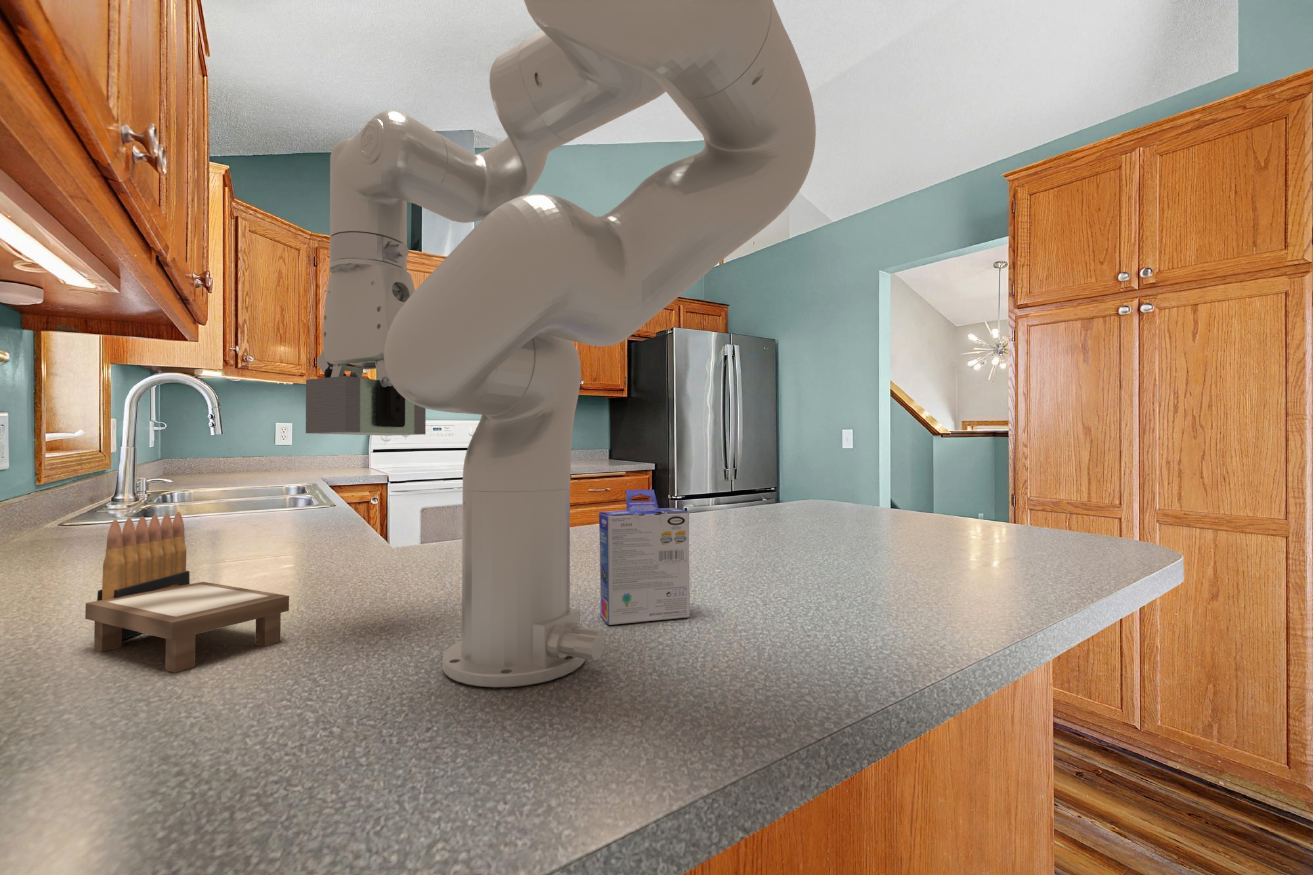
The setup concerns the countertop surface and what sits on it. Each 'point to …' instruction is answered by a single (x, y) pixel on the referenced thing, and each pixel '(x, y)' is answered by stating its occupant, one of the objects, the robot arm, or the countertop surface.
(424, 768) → the countertop surface
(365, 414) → the block
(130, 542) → the ammunition clip
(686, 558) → the ink cartridge box
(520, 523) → the robot arm
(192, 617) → the stand
